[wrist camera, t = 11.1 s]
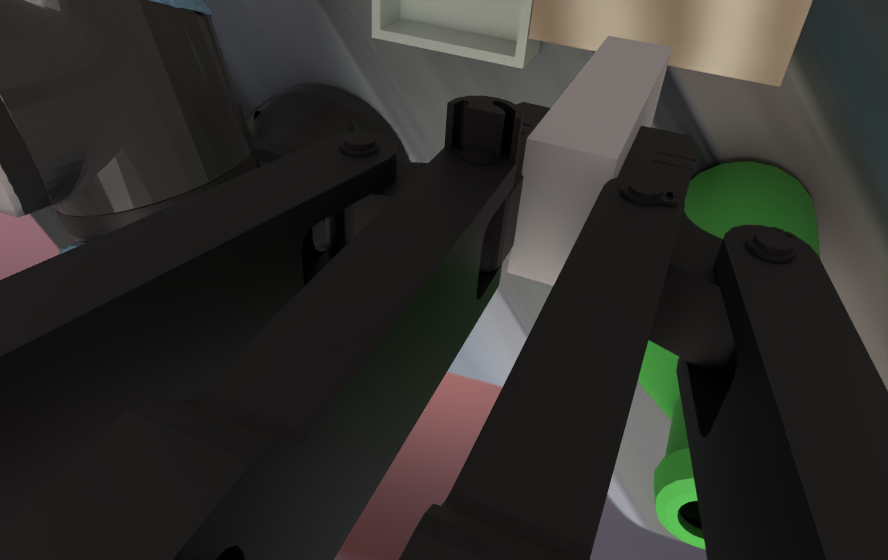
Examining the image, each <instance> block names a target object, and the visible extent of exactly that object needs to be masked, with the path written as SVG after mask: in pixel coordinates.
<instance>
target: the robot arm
mask: <svg viewBox="0 0 888 560" xmlns="http://www.w3.org/2000/svg"><path fill="white" fill-rule="evenodd" d="M210 17H212V12H211V9H210V7H209V6H208V5H206V4H205V2H204V0H0V212H1V213H5V214H8V215H11V216H14V217H21V216H24V215H27V214H30V213H32V212H35V211H38V210H40V209H43V208H46V207H48V206H51V205H53V206H54V207H55V209H56V211H57V213H58V214H59V216H60V218H61V220H62V222H63V224H64V226H65V228H66V230H67V232H68V234H69V236H70V238H71V240H72V242H73V245H71V246H67V247H65V248H63V249H62V251H60V252H59V255H57V256H55V257H53V258H50V259H48V260H46V261H43V262H41V263H39V264H36V265H34V266H32V267H30V268H27V269H25V270H23V271H21V272H18V273H16V274H14V275H11V276H9V277H7V278H4V279H2V280H0V560H334V558H335V557H336V555H337V553H338V551H339V550H340V548H341V546H342V545H343V543H344V541H345V540H346V538H347V537H348V535H349V533H350V531H351V530H352V528H353V526H354V525H355V523H356V522H357V520H358V518H359V517H360V515H361V513H362V511H363V510H364V508H365V507H366V505H367V503H368V502H369V500H370V498H371V497H372V495H373V493H374V492H375V490H376V488H377V487H378V485H379V483H380V482H381V480H382V478H383V477H384V475H385V474H386V472H387V470H388V468H389V467H390V465H391V464H392V462H393V460H394V459H395V457H396V455H397V454H398V452H399V450H400V449H401V447H402V445H403V444H404V442H405V440H406V438H407V437H408V435H409V434H410V432H411V430H412V429H413V427H414V425H415V424H416V422H417V420H418V419H419V417H420V415H421V414H422V412H423V411H424V409H425V407H426V405H427V404H428V402H429V400H430V399H431V397H432V396H433V394H434V392H435V391H436V389H437V387H438V386H439V384H440V382H441V380H442V379H443V377H444V376H445V374H446V372H447V371H448V369H449V367H450V366H451V364H452V362H453V361H454V359H455V357H456V356H457V354H458V352H459V351H460V349H461V347H462V346H463V344H464V342H465V341H466V339H467V337H468V336H469V334H470V333H471V331H472V329H473V328H474V326H475V324H476V323H477V321H478V319H479V318H480V316H481V314H482V313H483V311H484V309H485V308H486V306H487V304H488V303H489V301H490V299H491V298H492V296H493V294H494V293H495V291H496V289H497V288H498V286H499V281H500V276H501V269H502V262H503V261H504V259H505V258H506V256H507V255H508V253H509V251H510V256H509V263H508V270H507V273H511V274H514V275H517V276H521V277H524V278H528V279H531V280H535V281H538V282H541V283H545V284H548V285H552V286H553V288H552V290H551V292H550V294H549V296H548V298H547V300H546V302H545V304H544V306H543V308H542V310H541V312H540V314H539V316H538V318H537V320H536V322H535V324H534V326H533V328H532V330H531V332H530V334H529V336H528V338H527V340H526V342H525V344H524V346H523V348H522V350H521V352H520V354H519V356H518V358H517V360H516V362H515V364H514V366H513V368H512V370H511V372H510V374H509V376H508V378H507V380H506V382H505V384H504V386H503V388H502V390H501V392H500V394H499V396H498V398H497V400H496V402H495V404H494V406H493V408H492V410H491V412H490V414H489V416H488V418H487V420H486V422H485V424H484V426H483V428H482V430H481V432H480V434H479V436H478V438H477V440H476V442H475V444H474V446H473V448H472V450H471V452H470V454H469V456H468V458H467V460H466V462H465V464H464V466H463V468H462V470H461V472H460V474H459V476H458V478H457V480H456V482H455V484H454V486H453V488H452V490H451V492H450V494H449V495H448V497H447V499H446V501H445V502H444V503H443V504H442V505H441V506H440V505H436V504H433V505H432V506H431V507H430V508H429V509H428V510H427V511H426V512H425V513H424V515H423V517H422V518H421V520H420V522H419V524H418V525H417V527H416V529H415V530H414V532H413V534H412V536H411V538H410V540H409V542H408V544H407V546H406V547H405V549H404V551H403V553H402V555H401V557H400V559H399V560H590V555H591V552H592V548H593V544H594V541H595V537H596V533H597V530H598V526H599V522H600V518H601V515H602V511H603V507H604V504H605V500H606V496H607V493H608V489H609V485H610V481H611V478H612V474H613V470H614V467H615V463H616V459H617V456H618V452H619V448H620V444H621V441H622V437H623V433H624V430H625V426H626V422H627V418H628V415H629V411H630V407H631V404H632V400H633V396H634V393H635V389H636V385H637V381H638V378H639V374H640V370H641V367H642V363H643V359H644V356H645V352H646V348H647V344H648V341H649V340H650V341H651V342H653V343H655V344H657V345H659V346H660V347H662V348H664V349H666V350H668V351H669V352H671V353H673V354H675V355H677V356H678V357H679V359H678V361H677V369H676V373H677V379H678V385H679V391H680V397H681V403H682V409H683V415H684V421H685V427H686V433H687V439H688V445H689V452H690V458H691V464H692V470H693V476H694V482H695V488H696V494H697V500H698V506H699V512H700V518H701V524H702V530H703V536H704V542H705V548H706V554H707V560H888V391H887V389H886V387H885V385H884V383H883V381H882V379H881V377H880V375H879V373H878V372H877V370H876V368H875V366H874V364H873V362H872V360H871V358H870V356H869V354H868V352H867V350H866V348H865V346H864V344H863V342H862V340H861V338H860V336H859V334H858V332H857V331H856V329H855V327H854V325H853V323H852V321H851V319H850V317H849V315H848V313H847V311H846V309H845V307H844V305H843V303H842V301H841V299H840V297H839V295H838V293H837V291H836V289H835V288H834V286H833V284H832V282H831V280H830V278H829V276H828V274H827V272H826V270H825V268H824V266H823V264H822V262H821V260H820V258H819V256H818V255H817V253H816V252H815V251H814V250H813V249H812V247H811V246H810V245H809V244H807V243H806V242H804V241H803V240H801V239H800V238H798V237H797V236H796V235H794V234H792V233H790V232H788V231H786V232H785V231H784V230H783V229H780V228H777V227H768V226H763V225H746V224H745V225H741V226H736V227H732V228H731V229H730V230H729V231H728V232H726V233H725V235H724V238H723V239H721V238H719V237H717V236H715V235H713V234H711V233H709V232H707V231H705V230H703V229H701V228H700V227H698V226H697V225H696V224H694V223H693V222H692V221H691V220H690V219H689V218H688V217H687V215H686V213H685V211H684V207H685V198H686V194H687V190H688V187H689V183H690V179H691V175H692V172H693V168H694V164H695V160H696V157H697V153H698V149H699V148H698V147H697V145H696V144H695V142H694V141H693V139H692V137H691V136H687V135H683V134H678V133H673V132H669V131H664V130H659V129H655V128H651V126H652V122H653V118H654V114H655V111H656V107H657V103H658V99H659V95H660V92H661V88H662V84H663V80H664V77H665V73H666V69H667V65H668V61H669V58H670V54H671V50H672V47H669V46H663V45H658V44H652V43H647V42H641V41H635V40H630V39H624V38H619V37H613V36H608V37H607V38H606V39H605V41H604V42H603V43H602V44H601V46H600V47H599V48H598V49H597V51H596V52H595V53H594V55H593V56H592V57H591V58H590V60H589V61H588V62H587V63H586V65H585V66H584V67H583V68H582V70H581V71H580V72H579V73H578V75H577V76H576V77H575V78H574V80H573V81H572V82H571V84H570V85H569V86H568V87H567V89H566V90H565V91H564V92H563V94H562V95H561V96H560V97H559V99H558V100H557V101H556V102H555V104H554V105H553V106H552V107H551V108H548V107H544V106H539V105H534V104H530V103H525V102H522V103H519V104H516V105H515V104H513V103H511V102H509V101H506V100H503V99H500V98H495V97H488V96H465V97H460V98H456V99H454V100H452V101H450V102H448V106H447V120H446V135H445V147H444V148H443V149H442V150H441V151H440V152H439V153H438V154H437V155H436V156H435V157H434V158H433V159H432V160H431V161H430V162H429V163H416V162H409V161H408V158H407V156H406V153H405V151H404V149H403V147H402V145H401V143H400V141H399V140H398V138H397V136H396V135H395V134H394V132H393V131H392V129H391V128H390V127H389V125H388V124H387V123H386V122H385V121H384V120H383V119H382V118H381V116H380V115H379V114H378V113H376V112H375V111H374V110H373V109H372V108H371V107H369V106H368V105H367V104H366V103H364V102H363V101H361V100H360V99H358V98H357V97H355V96H353V95H351V94H349V93H347V92H345V91H343V90H340V89H337V88H334V87H331V86H327V85H321V84H302V85H297V86H293V87H290V88H288V89H285V90H283V91H282V92H280V93H278V94H276V95H274V96H273V97H271V98H269V99H268V100H266V101H265V102H263V103H262V104H261V105H260V106H259V107H257V108H256V109H255V110H254V112H253V113H252V114H251V116H250V117H249V119H248V120H247V122H246V120H245V117H244V114H243V112H242V109H241V106H240V103H239V100H238V97H237V95H236V92H235V89H234V86H233V83H232V80H231V78H230V75H229V72H228V69H227V66H226V63H225V60H224V57H223V54H222V51H221V48H220V45H219V42H218V39H217V36H216V33H215V30H214V27H213V24H212V21H211V18H210Z"/></svg>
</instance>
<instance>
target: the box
mask: <svg viewBox="0 0 888 560" xmlns="http://www.w3.org/2000/svg"><path fill="white" fill-rule="evenodd" d="M533 2H534V0H372V38H376V39H381V40H386V41H391V42H396V43H400V44H405V45H410V46H415V47H420V48H425V49H429V50H434V51H439V52H444V53H449V54H454V55H459V56H463V57H468V58H473V59H478V60H483V61H488V62H492V63H497V64H502V65H507V66H512V67H517V68H522V69H523V68H524V67H525V66H526V65H527V64H528V63H529V62H530V61H531V60H532V59H533V58H534V57H535V56H536V55H537V54H538V53H539V49H540V42H541V41H539V40H534V39H529V38H528V37H529V30H530V23H531V16H532V9H533Z"/></svg>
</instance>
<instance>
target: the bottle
mask: <svg viewBox="0 0 888 560" xmlns="http://www.w3.org/2000/svg"><path fill="white" fill-rule="evenodd" d="M684 211H685V213H686V215H687V217H688V218H689V219H690V220H691V221H692V222H693V223H694V224H696V225H697V226H698V227H700V228H701V229H703V230H705V231H707V232H709V233H711V234H713V235H715V236H717V237H719V238H721V239H723V238H724V235H725V233H726V232H728V231H729V230H730V229H731V228H732V227H736V226H741V225H745V224H746V225H763V226H768V227H777V228H780V229H783V230H784V231H785V232H786V231H788V232H790V233H792V234H794V235H796V236H797V237H798V238H800V239H801V240H803V241H804V242H806V243H807V244H809V245H810V246H811V247H812V249H813V250H814V251H815V252H816V253H817V255H818V256H819V258H820V252H819V240H818V228H817V219H816V214H815V210H814V205H813V200H812V198H811V197H810V195H809V194H808V193H807V191H806V190H805V189H804V187H803V186H802V185H801V183H800V182H799V181H798V180H797V179H795V178H794V177H792V176H790V175H789V174H787V173H786V172H784V171H782V170H781V169H779V168H777V167H775V166H770V165H766V164H761V163H757V162H752V161H745V162H733V163H723V164H720V165H718V166H716V167H713V168H711V169H708V170H706V171H703V172H701V173H699V174H698V175H697V176H695V177H694V178H693V179H692V180H691V181H690V183H689V187H688V190H687V194H686V198H685V207H684ZM678 359H679V357H678V356H677V355H675V354H673V353H671V352H669V351H668V350H666V349H664V348H662V347H660V346H659V345H657V344H655V343H653V342H651V341H650V340H649V341H648V344H647V348H646V352H645V356H644V359H643V363H642V367H641V370H640V374H639V378H638V379H639V381H640V384H641V386H642V387H643V388H644V389H645V391H646V392H647V393H648V394H649V395H650V396H651V398H652V399H653V400H654V401H655V402H656V403H657V405H658V406H659V407H660V408H661V409H662V410H663V412H664V413H665V414H666V415H667V416H668V417H669V418H670V420H671V421H672V422H671V428H670V433H669V439H668V444H667V450H666V455H665V458H663V459H662V461H661V462H660V464H659V465H658V466H657V468H656V469H655V473H654V496H655V509H656V512H657V515H658V518H659V520H660V522H661V523H662V524H663V525H664V526H665V528H666V529H667V530H668V531H669V532H670V533H671V534H673V535H674V536H676V537H677V538H679V539H680V540H682V541H683V542H686V543H688V544H691V545H693V546H696V547H699V548H703V549H706V548H705V542H704V536H703V530H702V524H701V518H700V512H699V506H698V500H697V494H696V488H695V482H694V476H693V470H692V464H691V458H690V452H689V445H688V439H687V433H686V427H685V421H684V415H683V409H682V403H681V397H680V391H679V385H678V379H677V373H676V369H677V361H678Z"/></svg>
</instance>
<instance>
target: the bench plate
mask: <svg viewBox="0 0 888 560" xmlns="http://www.w3.org/2000/svg"><path fill="white" fill-rule="evenodd" d="M812 1H813V0H534V2H533V9H532V16H531V23H530V30H529V37H528V38H529V39H534V40H539V41H544V42H550V43H555V44H560V45H565V46H570V47H576V48H581V49H586V50H591V51H597V49H598V48H599V47H600V46H601V44H602V43H603V42H604V41H605V39H606V38H607V37H608V36H613V37H619V38H624V39H630V40H635V41H641V42H647V43H652V44H658V45H663V46H669V47H672V50H671V54H670V58H669V61H668V65H669V66H674V67H679V68H684V69H690V70H695V71H700V72H705V73H710V74H715V75H721V76H726V77H731V78H736V79H741V80H747V81H752V82H757V83H762V84H767V85H772V86H778V87H780V85H781V82H782V80H783V77H784V75H785V72H786V69H787V67H788V64H789V61H790V59H791V56H792V54H793V51H794V48H795V46H796V43H797V40H798V38H799V35H800V32H801V30H802V27H803V25H804V22H805V19H806V17H807V14H808V11H809V9H810V6H811V3H812Z"/></svg>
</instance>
